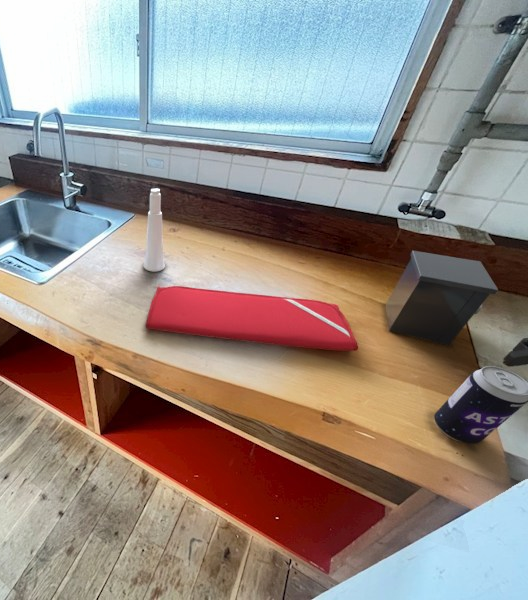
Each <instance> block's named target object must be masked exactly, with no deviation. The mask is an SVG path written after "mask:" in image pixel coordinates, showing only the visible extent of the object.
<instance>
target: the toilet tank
mask: <svg viewBox="0 0 528 600" xmlns="http://www.w3.org/2000/svg"><path fill="white" fill-rule="evenodd" d="M409 255H410V260H409V262H408V264H407V265H406V267H405V269H404V271H403V273H401V276H400V277H399V279H398V281H397V283H396V285H395V287H394V288H393V290H392V292H391V293H390V295H389V297H388V299H387V300H386V302H385V304H384V305H385V306H384V307H385V313H386V320H387V328H388V331H389V332H392V333H397V334H399V335H400V334H401V335H403V336H404V335H405V336H408V337H413V338H417V339H420V340H425V341H428V342H432V343H436V344H441V345H446V346H450V345H451V344H452V343H453V342H454V340H455V339H456V338H457V337H458V335H459V334H460V333H461V331H462V330H463V329H464V327H465V326H466V325H467V324H468V323H469V321H470V320H471V319H472V317H473V316H474V315H475V314H474V313H475V312H476V311H477V310H478V308H479V307H480V306H481V305H482V306H483V304H484V302H485V301H486V300H487V299H488V297H489V296H490V295H496V294H497V293H498V291H499V289H498V287H497V285H496V284H495V282H494V281H493V279H492V278H491V276H490V275H489V273H488V271H487V270H486V268H485V266H484V265H483V263H482V262H481V261H479V260H475V259H474V260H473V259H468V258H460V257H456V256H450V255H442V254H436V253H430V252H424V251H419V250H411V252H410V254H409Z"/></svg>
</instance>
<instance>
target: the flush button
mask: <svg viewBox="0 0 528 600" xmlns="http://www.w3.org/2000/svg"><path fill="white" fill-rule="evenodd" d="M482 308H483V304H482V305H481V306H480V307H479V308H478V310H477V311H476V312H475V313H474V315H477V314H478V313H480V312H481V310H482Z"/></svg>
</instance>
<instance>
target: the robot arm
mask: <svg viewBox="0 0 528 600" xmlns="http://www.w3.org/2000/svg"><path fill="white" fill-rule="evenodd" d="M513 347H514V348H512V351H510V352H509V353H507V354H506V356H505V357H504V358H503V361H502V364H503V365H505V366H506V367H507V368H511V367H519V366H528V337H523V338H522V339H521V340H520V341H519V342H518V343H517V344H516V345H515V346H513Z"/></svg>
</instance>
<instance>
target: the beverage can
mask: <svg viewBox="0 0 528 600" xmlns="http://www.w3.org/2000/svg"><path fill="white" fill-rule="evenodd" d="M527 403H528V381H527V380H526V379H524V377H522V376H520V375H518V374H517V373H515V372H513V371H511V370H509V369H506V368H503V367H499V366H495V365H486V366H483V367H482V368H481V369H477V370H474V371H473V372H472V373H471V374H470V375H469V376H468V377H467V378H466V379H465V380H464V382H463V383H462V384H461V385H460V386H459V387H458V388H457V389H456V390H455V391H454V392H453V393H452V395H450V396H449V398H447V400H446V401H445V402H444V403H443V404H442V405H441V406H440V407H439V409H438V410H437V411H435V413H434V415H433V419H434V422H435V424H436V425H437V428H438V429H439V431H441V432H442V433H443V434H444V435H445V436H446V437H448V438H450V439H451V440H453V441H456V442H460V443H464V444H469V445H477V444H480V443H482V441H484V440H485V439H486V438H487V437H489V435H491V434H492V433H493V432H494V431H496V429H498V428H499V427H500V426H501V425H502V424H504V423H505V422H506V421H507V420H508V419H510V417H512V416H513V415H514V414H515V413H516V412H517V411H519V410H520V409H521V408H522V407H524V406H525V405H526V404H527Z"/></svg>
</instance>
